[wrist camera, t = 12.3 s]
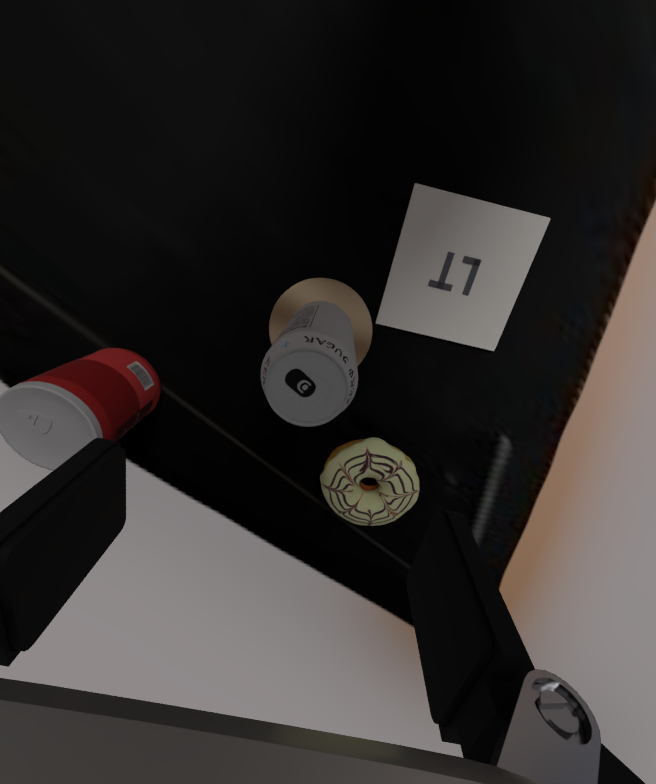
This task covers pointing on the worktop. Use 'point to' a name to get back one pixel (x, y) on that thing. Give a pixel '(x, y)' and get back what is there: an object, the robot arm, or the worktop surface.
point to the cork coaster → (331, 293)
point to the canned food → (78, 405)
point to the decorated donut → (374, 500)
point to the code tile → (459, 267)
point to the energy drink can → (312, 366)
